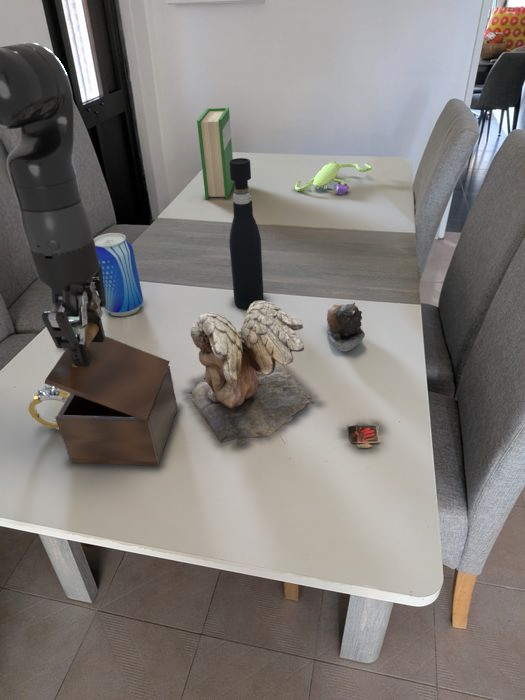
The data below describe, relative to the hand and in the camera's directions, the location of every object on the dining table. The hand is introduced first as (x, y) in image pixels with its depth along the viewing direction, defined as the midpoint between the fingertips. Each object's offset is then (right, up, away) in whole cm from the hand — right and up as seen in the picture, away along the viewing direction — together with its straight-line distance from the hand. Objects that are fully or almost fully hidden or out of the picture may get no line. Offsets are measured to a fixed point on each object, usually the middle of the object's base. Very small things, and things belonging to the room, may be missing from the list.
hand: (90, 352), depth 72 cm
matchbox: (+39, -13, +6) cm, 42 cm away
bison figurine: (+40, +2, +27) cm, 48 cm away
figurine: (+48, +57, +103) cm, 127 cm away
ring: (-8, -12, +11) cm, 18 cm away
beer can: (-6, +9, +41) cm, 42 cm away
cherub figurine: (+22, -8, +14) cm, 28 cm away
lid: (+2, -3, +2) cm, 4 cm away
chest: (+3, -13, +9) cm, 16 cm away
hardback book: (+10, +54, +103) cm, 117 cm away
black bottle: (+21, +11, +41) cm, 47 cm away
